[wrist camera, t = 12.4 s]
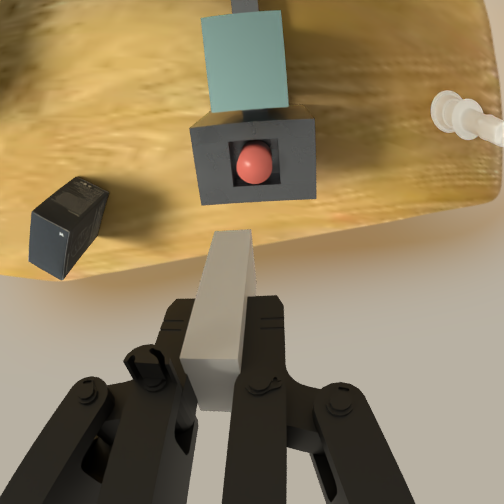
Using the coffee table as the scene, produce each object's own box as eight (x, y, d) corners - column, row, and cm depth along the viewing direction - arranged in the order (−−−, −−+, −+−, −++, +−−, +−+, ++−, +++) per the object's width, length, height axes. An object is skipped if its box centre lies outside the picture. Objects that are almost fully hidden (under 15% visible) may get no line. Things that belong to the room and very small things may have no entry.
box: (76, 175, 38) (30, 210, 29) (110, 191, 39) (70, 231, 30) (66, 221, 41) (26, 262, 33) (97, 237, 43) (62, 282, 34)
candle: (447, 141, 33) (503, 175, 22) (422, 109, 31) (477, 134, 21) (472, 113, 30) (532, 140, 20) (448, 81, 29) (509, 96, 18)
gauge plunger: (241, 171, 29) (238, 185, 26) (238, 141, 27) (234, 151, 24) (272, 169, 29) (273, 182, 26) (270, 139, 27) (270, 149, 24)
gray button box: (217, 169, 37) (201, 205, 28) (210, 111, 33) (189, 128, 25) (305, 164, 36) (316, 198, 28) (302, 104, 32) (314, 118, 24)
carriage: (226, 100, 32) (211, 113, 24) (218, 30, 27) (200, 18, 19) (283, 96, 31) (288, 107, 23) (277, 25, 27) (280, 10, 19)
